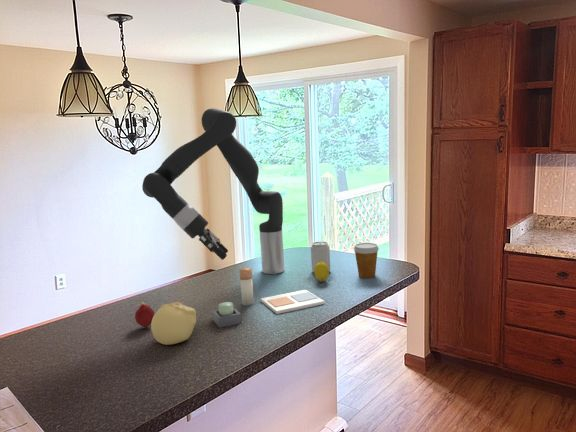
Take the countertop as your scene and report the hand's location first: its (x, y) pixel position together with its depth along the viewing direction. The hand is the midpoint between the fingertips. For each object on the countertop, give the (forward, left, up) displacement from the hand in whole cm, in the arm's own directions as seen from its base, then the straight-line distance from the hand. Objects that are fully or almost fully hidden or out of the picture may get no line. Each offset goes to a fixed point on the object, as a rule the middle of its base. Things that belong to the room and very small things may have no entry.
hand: (225, 255), depth 162 cm
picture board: (+10, +19, -17) cm, 27 cm away
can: (-16, +44, -17) cm, 50 cm away
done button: (+15, -5, -16) cm, 22 cm away
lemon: (-4, +38, -17) cm, 42 cm away
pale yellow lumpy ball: (+20, -22, -17) cm, 34 cm away
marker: (+3, +6, -17) cm, 18 cm away
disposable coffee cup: (-1, +56, -17) cm, 58 cm away
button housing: (+15, -5, -17) cm, 23 cm away
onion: (+6, -28, -17) cm, 34 cm away
